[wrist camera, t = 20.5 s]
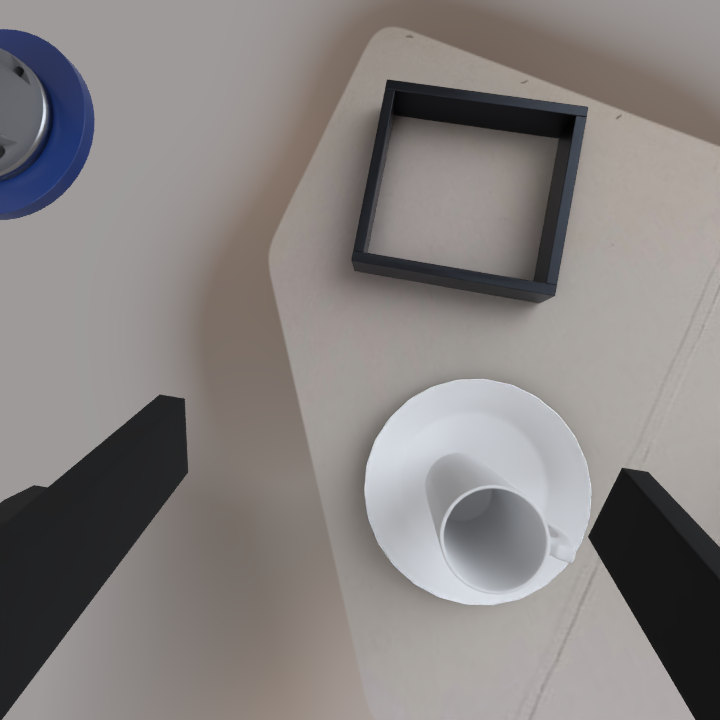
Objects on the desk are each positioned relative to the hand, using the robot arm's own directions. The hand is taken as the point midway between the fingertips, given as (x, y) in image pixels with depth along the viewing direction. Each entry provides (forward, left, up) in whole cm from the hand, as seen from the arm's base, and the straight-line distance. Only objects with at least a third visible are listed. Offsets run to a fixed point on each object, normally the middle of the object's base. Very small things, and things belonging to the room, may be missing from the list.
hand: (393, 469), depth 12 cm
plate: (+10, -6, -28) cm, 30 cm away
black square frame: (+4, +22, -27) cm, 35 cm away
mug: (+9, -6, -25) cm, 28 cm away
